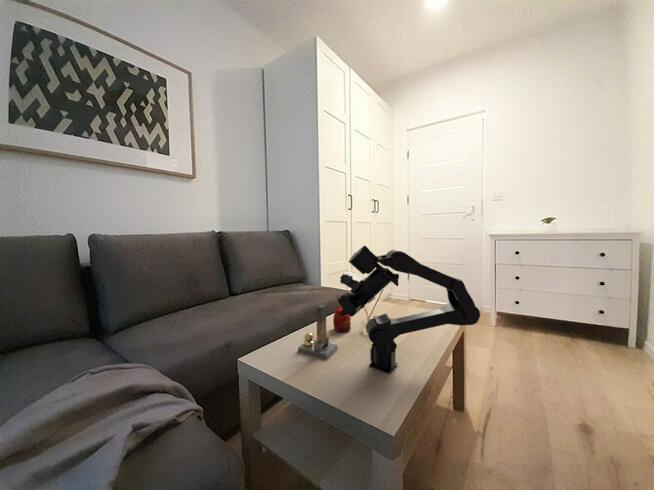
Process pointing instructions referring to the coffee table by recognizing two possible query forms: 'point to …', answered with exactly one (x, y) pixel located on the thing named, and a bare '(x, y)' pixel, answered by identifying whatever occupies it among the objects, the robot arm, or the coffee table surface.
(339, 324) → the decorative doll
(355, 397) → the coffee table surface
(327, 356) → the base
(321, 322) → the lever
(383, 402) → the coffee table surface
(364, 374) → the coffee table surface
